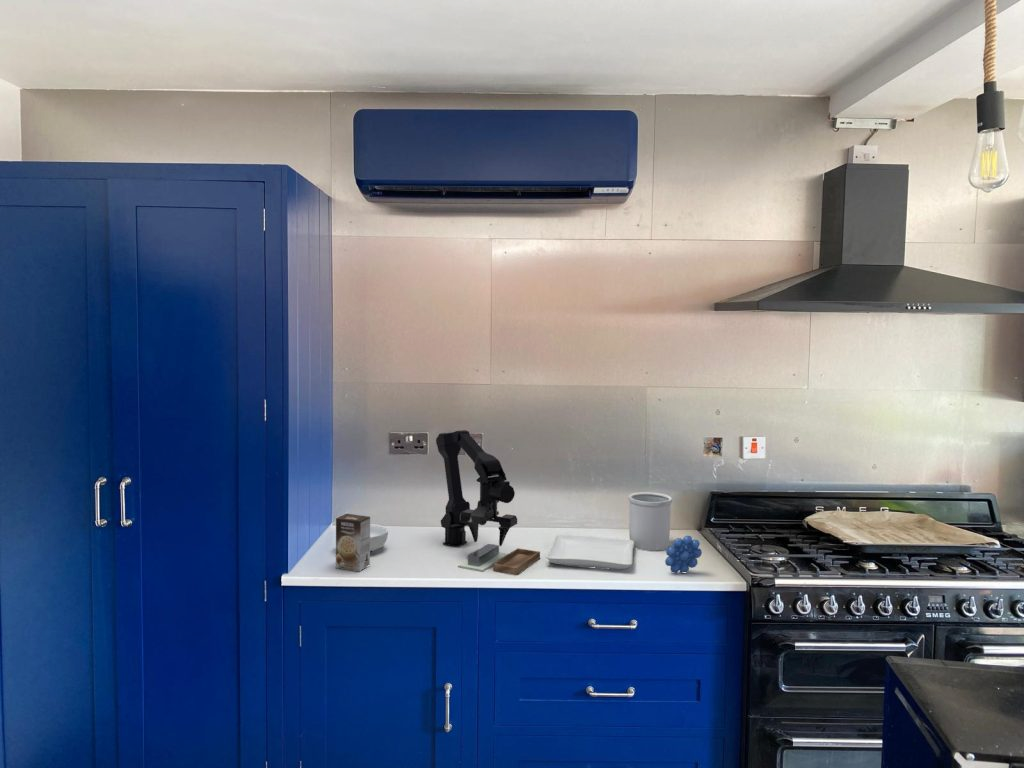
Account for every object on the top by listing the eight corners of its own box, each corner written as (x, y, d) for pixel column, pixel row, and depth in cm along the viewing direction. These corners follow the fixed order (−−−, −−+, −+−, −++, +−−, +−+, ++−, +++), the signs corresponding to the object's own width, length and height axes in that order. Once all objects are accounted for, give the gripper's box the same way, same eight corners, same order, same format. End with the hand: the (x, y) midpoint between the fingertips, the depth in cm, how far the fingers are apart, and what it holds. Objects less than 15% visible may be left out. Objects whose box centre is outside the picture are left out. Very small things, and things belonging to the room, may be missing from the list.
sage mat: (458, 567, 210) (458, 565, 210) (484, 551, 226) (484, 549, 226) (483, 571, 206) (483, 569, 206) (508, 555, 222) (508, 553, 222)
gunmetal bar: (467, 564, 211) (467, 555, 210) (488, 552, 223) (488, 543, 223) (478, 566, 209) (479, 557, 209) (498, 554, 222) (498, 545, 221)
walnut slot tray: (492, 571, 207) (493, 564, 207) (517, 554, 223) (517, 548, 223) (516, 575, 203) (516, 568, 203) (539, 558, 220) (540, 551, 220)
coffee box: (334, 568, 208) (334, 518, 207) (346, 562, 214) (345, 513, 213) (360, 572, 205) (360, 520, 204) (371, 565, 211) (371, 515, 210)
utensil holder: (668, 553, 226) (669, 503, 225) (624, 549, 231) (625, 499, 230) (672, 541, 240) (673, 494, 239) (631, 537, 245) (632, 490, 244)
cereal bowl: (341, 561, 215) (341, 539, 215) (333, 546, 230) (332, 526, 230) (393, 554, 222) (393, 533, 221) (381, 541, 237) (381, 521, 237)
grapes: (695, 568, 212) (696, 531, 211) (704, 575, 205) (705, 537, 204) (660, 569, 210) (661, 531, 210) (667, 576, 204) (668, 538, 203)
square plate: (632, 575, 205) (632, 563, 205) (544, 568, 211) (544, 556, 211) (634, 549, 232) (634, 538, 232) (556, 543, 237) (556, 532, 237)
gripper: (451, 499, 214) (451, 546, 215) (503, 505, 206) (502, 555, 207) (468, 492, 224) (467, 537, 225) (518, 498, 216) (517, 545, 217)
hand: (488, 543), depth 219 cm, fingers open, 9 cm apart
